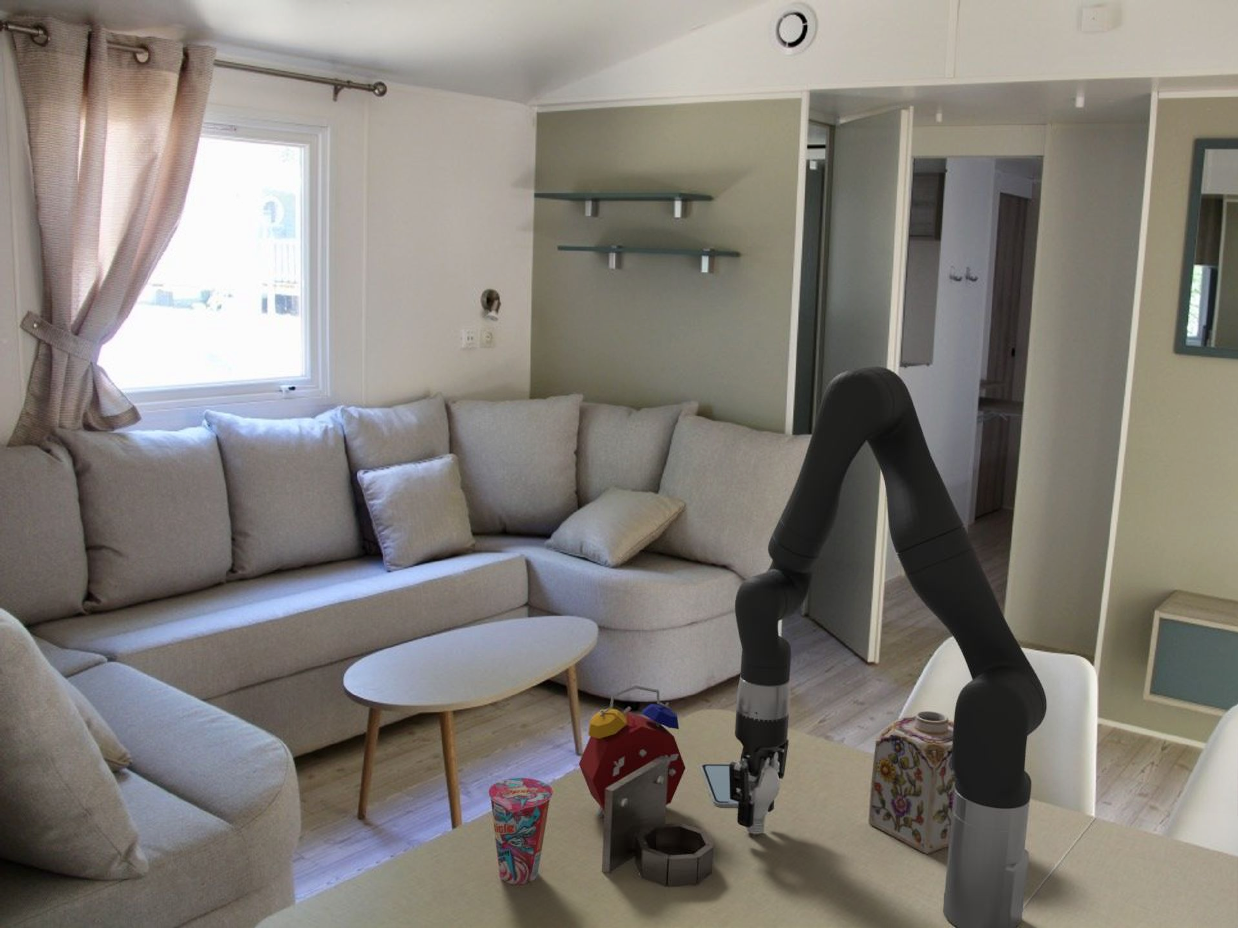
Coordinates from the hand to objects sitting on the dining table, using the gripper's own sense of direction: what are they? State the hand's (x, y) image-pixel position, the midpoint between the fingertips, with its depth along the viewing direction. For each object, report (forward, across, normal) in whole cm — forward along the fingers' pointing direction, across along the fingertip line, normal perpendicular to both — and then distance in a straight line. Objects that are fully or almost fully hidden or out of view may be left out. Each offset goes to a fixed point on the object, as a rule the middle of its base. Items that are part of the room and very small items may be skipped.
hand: (755, 816), depth 180 cm
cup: (+3, -31, +19) cm, 36 cm away
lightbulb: (+3, 0, 0) cm, 3 cm away
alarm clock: (+3, -7, +17) cm, 18 cm away
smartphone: (+3, +12, +11) cm, 17 cm away
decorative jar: (+3, +17, -19) cm, 26 cm away
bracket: (+3, -16, +5) cm, 17 cm away
